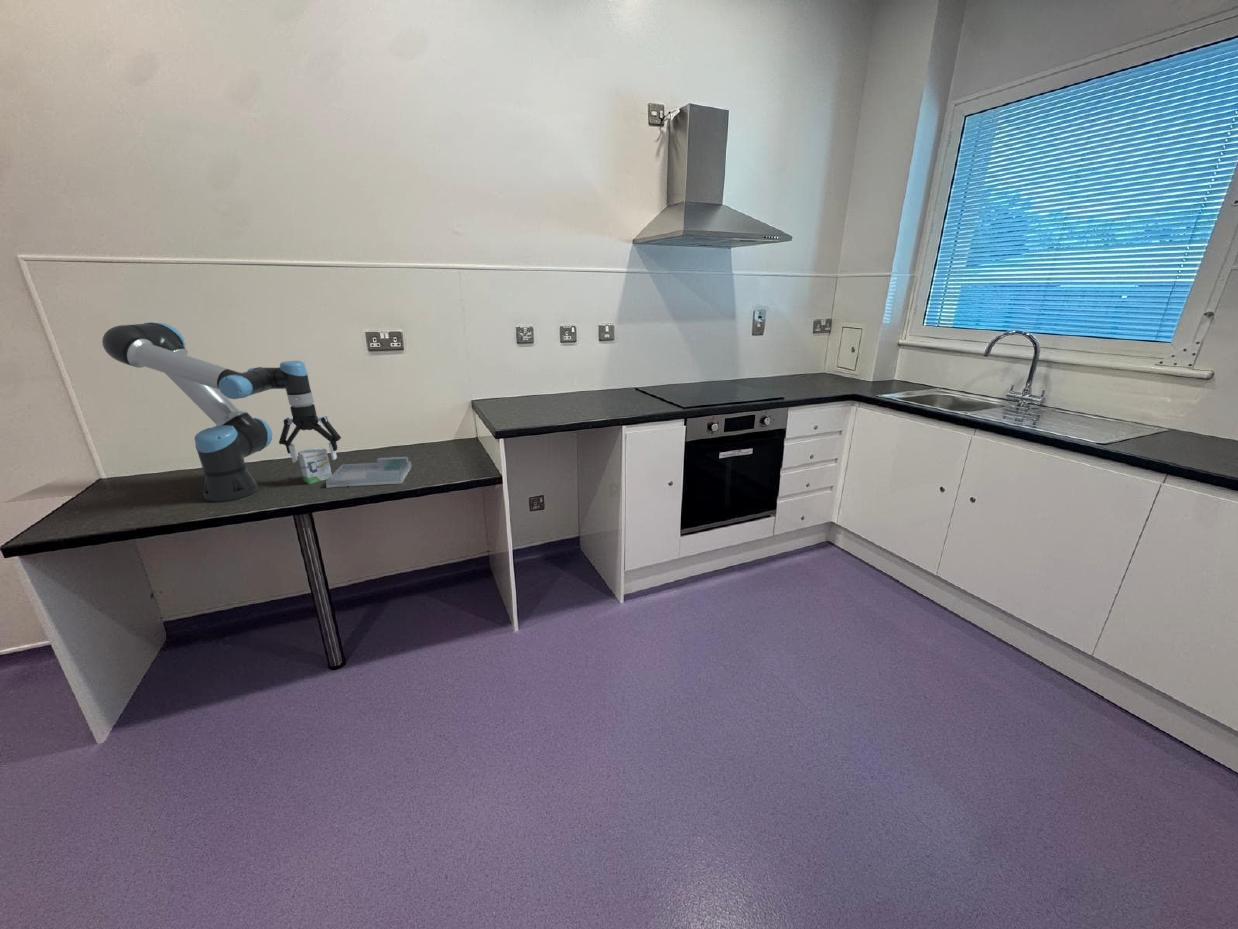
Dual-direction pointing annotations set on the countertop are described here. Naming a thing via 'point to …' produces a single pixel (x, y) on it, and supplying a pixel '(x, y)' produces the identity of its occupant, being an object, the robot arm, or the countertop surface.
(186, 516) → the countertop surface
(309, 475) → the ink box
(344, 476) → the keyhole tray
